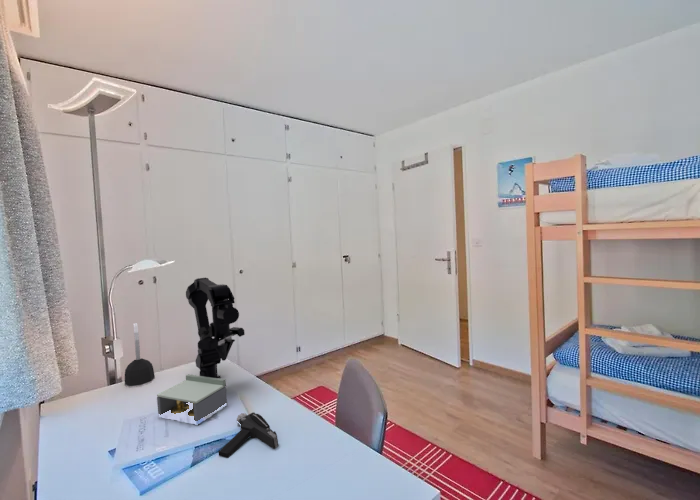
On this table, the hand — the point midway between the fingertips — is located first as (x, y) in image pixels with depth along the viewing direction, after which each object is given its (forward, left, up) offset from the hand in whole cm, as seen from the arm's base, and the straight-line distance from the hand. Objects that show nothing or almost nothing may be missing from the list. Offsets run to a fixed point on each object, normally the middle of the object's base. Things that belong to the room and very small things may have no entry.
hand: (223, 360), depth 132 cm
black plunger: (+2, -44, -13) cm, 46 cm away
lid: (+15, 0, -5) cm, 16 cm away
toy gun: (+23, +27, -13) cm, 38 cm away
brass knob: (+17, +4, -12) cm, 22 cm away
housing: (+15, 0, -12) cm, 20 cm away
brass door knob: (+17, -4, -12) cm, 21 cm away
